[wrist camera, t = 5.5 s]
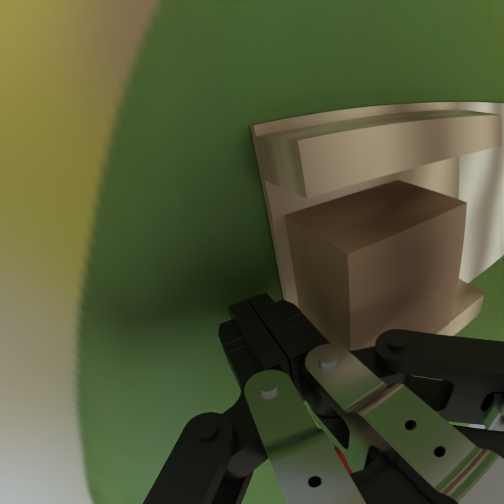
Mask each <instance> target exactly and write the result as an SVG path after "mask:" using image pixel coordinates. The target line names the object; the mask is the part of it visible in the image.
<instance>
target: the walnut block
mask: <svg viewBox="0 0 504 504" xmlns="http://www.w3.org/2000/svg"><path fill="white" fill-rule="evenodd" d="M466 210H467V202H464V201H462V200H459V199H456V198H453V197H450V196H447V195H444V194H441V193H438V192H435V191H432V190H429V189H426V188H423V187H420V186H416V185H413V184H410V183H406V182H403V181H400V180H396V181H393V182H389V183H386V184H383V185H379V186H376V187H373V188H369V189H366V190H363V191H359V192H356V193H353V194H350V195H346V196H343V197H340V198H337V199H333V200H330V201H327V202H324V203H321V204H317V205H314V206H311V207H308V208H305V209H302V210H298V211H295V212H292V213H289V214H286V215H284V216H285V222H286V228H287V234H288V240H289V246H290V253H291V259H292V265H293V272H294V278H295V285H296V291H297V298H298V305H299V309H300V311H301V312H302V314H304V315H305V316H306V317H307V318H308V320H309V321H310V322H311V323H312V324H313V325H314V326H315V327H316V328H317V329H318V331H319V332H320V333H321V334H322V335H323V336H324V337H325V338H326V339H327V340H328V342H329V343H330V344H336V345H340V346H342V347H344V348H345V349H347V350H349V351H351V350H359V349H363V348H368V347H372V346H375V343H376V340H377V338H378V336H379V335H380V334H382V333H383V332H385V331H387V330H391V329H403V330H410V331H417V332H425V333H432V334H437V333H438V332H439V331H441V330H442V329H443V328H445V327H446V326H447V325H449V323H450V319H451V315H452V310H453V305H454V301H455V295H456V290H457V285H458V279H459V273H460V266H461V259H462V252H463V244H464V234H465V224H466Z"/></svg>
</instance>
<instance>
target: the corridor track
mask: <svg viewBox="0 0 504 504" xmlns="http://www.w3.org/2000/svg"><path fill="white" fill-rule="evenodd" d="M250 129H251V134H252V139H253V144H254V148H255V153H256V158H257V163H258V168H259V173H260V178H261V183H262V188H263V193H264V198H265V203H266V208H267V213H268V219H269V224H270V229H271V234H272V240H273V245H274V250H275V256H276V261H277V266H278V272H279V277H280V283H281V288H282V294H283V299H284V300H286V301H289V302H291V303H293V304H295V305H296V306H297V307H298V308H299V305H298V298H297V291H296V285H295V278H294V272H293V265H292V259H291V253H290V246H289V240H288V234H287V228H286V222H285V216H284V215H286V214H289V213H292V212H295V211H298V210H302V209H305V208H308V207H311V206H314V205H317V204H321V203H324V202H327V201H330V200H333V199H337V198H340V197H343V196H346V195H350V194H353V193H356V192H359V191H363V190H366V189H369V188H373V187H376V186H379V185H383V184H386V183H389V182H393V181H396V180H400V181H403V182H406V183H410V184H413V185H416V186H420V187H423V188H426V189H429V190H432V191H435V192H438V193H441V194H444V195H447V196H450V197H453V198H456V199H459V200H462V201H464V202H467V210H466V224H465V234H464V244H463V252H462V259H461V266H460V273H459V279H458V285H457V290H456V295H455V301H454V305H453V310H452V315H451V319H450V323H449V325H447V326H446V327H445V328H443V329H442V330H441V331H439V332H438V333H437V334H440V335H448V336H454V335H455V334H456V333H457V332H459V331H460V330H461V329H462V328H464V327H465V326H466V325H467V324H468V323H469V322H471V321H472V320H473V319H474V318H475V317H476V316H478V315H479V314H480V310H481V307H482V303H483V299H484V295H485V294H484V293H483V292H481V291H480V290H478V289H476V288H475V287H473V286H471V285H469V284H468V283H469V282H470V281H472V280H473V279H474V278H476V277H477V276H478V275H480V274H481V273H482V272H483V271H485V270H486V269H487V268H488V267H490V266H491V265H492V264H493V263H495V262H496V261H497V260H498V259H499V258H501V257H502V256H503V255H504V103H494V102H423V103H404V104H390V105H378V106H368V107H358V108H350V109H342V110H334V111H327V112H320V113H313V114H307V115H301V116H295V117H290V118H284V119H279V120H274V121H269V122H264V123H259V124H254V125H250Z"/></svg>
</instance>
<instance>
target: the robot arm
mask: <svg viewBox="0 0 504 504" xmlns="http://www.w3.org/2000/svg"><path fill="white" fill-rule="evenodd" d="M228 310H229V313H230V316H231V320H229V321H227V322H224V323H221V324H220V326H219V332H218V335H219V338H220V341H221V344H222V346H223V349H224V352H225V355H226V357H227V360H228V363H229V365H230V367H231V369H232V371H233V373H234V376H235V378H236V380H237V382H238V384H239V386H240V389H241V394H240V397H239V399H238V400H237V402H236V403H235V404H234V405H233V406H232V407H231V408H230V409H228V410H227V411H225V412H224V413H223V414H219V413H214V412H208V413H203V414H200V415H197V416H195V417H194V418H192V419H191V420H190V421H189V422H188V423H187V424H186V426H185V428H184V429H183V431H182V433H181V435H180V437H179V439H178V441H177V442H176V444H175V446H174V448H173V450H172V452H171V454H170V455H169V457H168V459H167V461H166V463H165V465H164V466H163V468H162V470H161V472H160V474H159V475H158V477H157V479H156V481H155V483H154V484H153V486H152V488H151V490H150V492H149V493H148V495H147V497H146V499H145V501H144V502H143V504H241V503H242V500H243V498H244V495H245V493H246V490H247V488H248V485H249V482H250V480H251V477H252V475H253V470H254V469H256V468H257V467H258V466H259V465H261V464H262V463H263V462H264V461H266V460H267V459H269V461H270V464H271V466H272V469H273V471H274V474H275V476H276V478H277V481H278V483H279V486H280V488H281V491H282V493H283V495H284V498H285V500H286V502H287V504H504V342H503V341H493V340H483V339H473V338H465V337H456V336H448V335H440V334H432V333H425V332H417V331H410V330H403V329H391V330H387V331H385V332H383V333H382V334H380V335H379V336H378V338H377V340H376V343H375V346H372V347H368V348H363V349H359V350H351V351H349V350H347V349H345V348H344V347H342V346H340V345H336V344H330V343H329V342H328V340H327V339H326V338H325V337H324V336H323V335H322V334H321V333H320V332H319V331H318V329H317V328H316V327H315V326H314V325H313V324H312V323H311V322H310V321H309V320H308V318H307V317H306V316H305V315H304V314H302V312H301V311H300V309H299V308H298V307H297V306H296V305H295V304H293V303H291V302H289V301H286V300H284V299H283V300H281V301H278V302H276V303H275V302H274V301H273V300H272V299H271V297H270V296H269V295H268V294H267V293H266V292H265V293H262V294H259V295H257V296H254V297H252V298H249V299H247V300H244V301H241V302H239V303H236V304H233V305H231V306H228ZM412 375H414V376H421V377H427V378H421V377H414V376H412ZM428 378H434V379H442V380H434V379H428ZM305 400H306V401H307V402H308V404H309V405H310V407H311V413H312V416H313V418H314V419H315V421H316V422H317V423H318V424H319V426H320V427H321V428H322V429H323V430H324V431H323V430H322V429H318V427H317V426H316V424H315V423H314V421H313V419H312V417H311V415H310V413H309V412H308V410H307V408H306V406H305V404H304V402H303V401H305ZM447 421H452V422H460V423H470V424H480V425H485V427H486V428H485V429H478V428H471V427H464V426H456V425H451V424H450V423H449V422H447ZM326 434H327V435H328V436H329V438H330V439H331V440H332V441H333V442H334V444H335V445H336V446H337V447H338V448H339V450H340V451H341V452H342V453H343V455H344V456H345V458H346V461H347V463H348V465H349V467H350V469H351V470H352V472H353V473H350V474H349V473H348V472H347V470H346V468H345V466H344V465H343V463H342V461H341V459H340V458H339V456H338V454H337V452H336V451H335V449H334V447H333V445H332V444H331V442H330V440H329V438H328V437H327V435H326Z"/></svg>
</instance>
